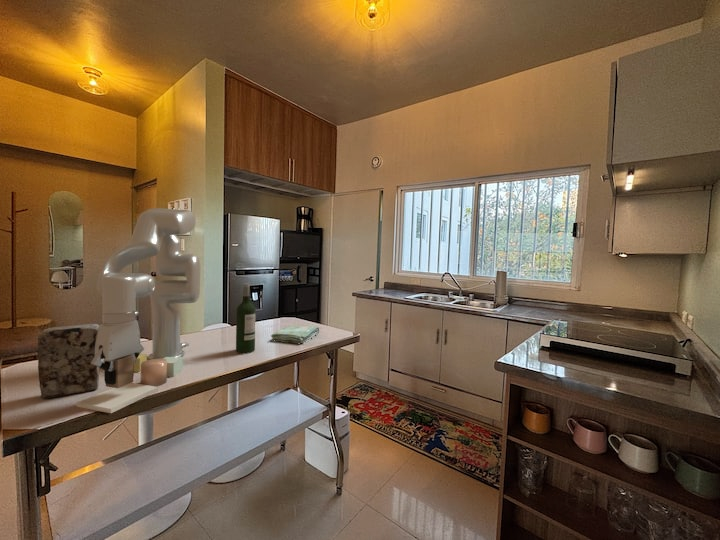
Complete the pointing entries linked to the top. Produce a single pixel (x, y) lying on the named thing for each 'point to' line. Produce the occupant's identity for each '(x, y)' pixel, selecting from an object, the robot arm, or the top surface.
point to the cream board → (117, 397)
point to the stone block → (67, 360)
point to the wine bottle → (245, 324)
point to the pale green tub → (174, 365)
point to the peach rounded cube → (154, 372)
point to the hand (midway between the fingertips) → (119, 379)
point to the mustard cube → (139, 362)
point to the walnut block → (123, 371)
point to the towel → (295, 334)
